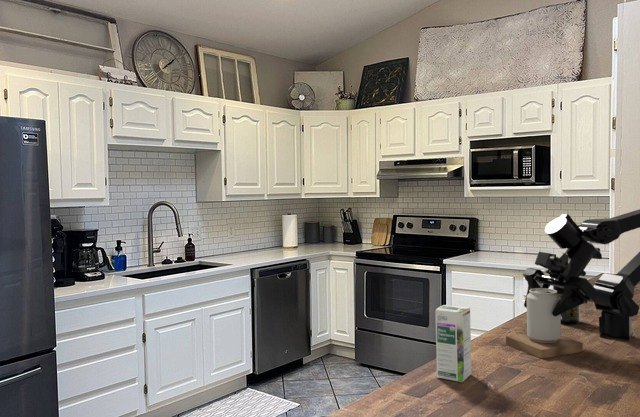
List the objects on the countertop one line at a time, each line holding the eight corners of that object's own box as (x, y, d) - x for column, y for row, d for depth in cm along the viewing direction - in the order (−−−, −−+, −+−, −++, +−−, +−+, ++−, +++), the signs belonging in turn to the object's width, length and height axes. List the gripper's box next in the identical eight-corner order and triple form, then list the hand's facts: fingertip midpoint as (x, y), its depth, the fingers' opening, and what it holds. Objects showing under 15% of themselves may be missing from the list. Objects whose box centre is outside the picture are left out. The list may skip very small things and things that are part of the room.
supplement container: (585, 322, 148) (584, 285, 147) (569, 326, 144) (569, 288, 144) (563, 317, 153) (562, 282, 153) (548, 321, 150) (547, 285, 150)
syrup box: (435, 378, 110) (434, 309, 109) (446, 369, 115) (444, 303, 114) (462, 383, 107) (460, 312, 106) (472, 374, 111) (470, 306, 111)
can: (564, 344, 122) (563, 293, 122) (530, 343, 124) (529, 293, 123) (556, 335, 130) (556, 286, 129) (524, 334, 131) (523, 286, 131)
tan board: (544, 337, 135) (544, 330, 134) (582, 351, 123) (582, 342, 123) (505, 344, 131) (505, 336, 130) (541, 358, 119) (541, 350, 119)
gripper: (528, 236, 136) (493, 283, 133) (587, 243, 118) (548, 297, 115) (552, 264, 139) (519, 310, 136) (613, 274, 121) (577, 328, 118)
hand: (538, 311), depth 126 cm, fingers open, 9 cm apart
